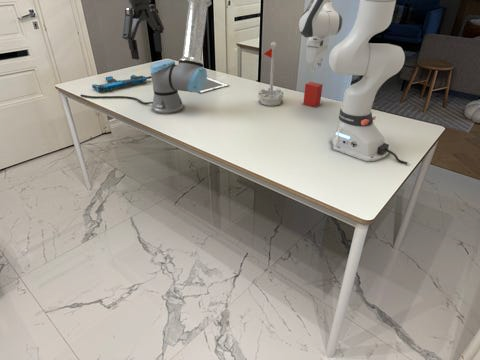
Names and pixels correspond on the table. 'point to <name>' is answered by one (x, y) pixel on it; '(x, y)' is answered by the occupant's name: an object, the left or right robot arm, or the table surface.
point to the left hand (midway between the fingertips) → (147, 55)
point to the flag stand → (271, 84)
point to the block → (312, 94)
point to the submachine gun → (119, 83)
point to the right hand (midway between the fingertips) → (315, 69)
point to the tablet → (212, 85)
